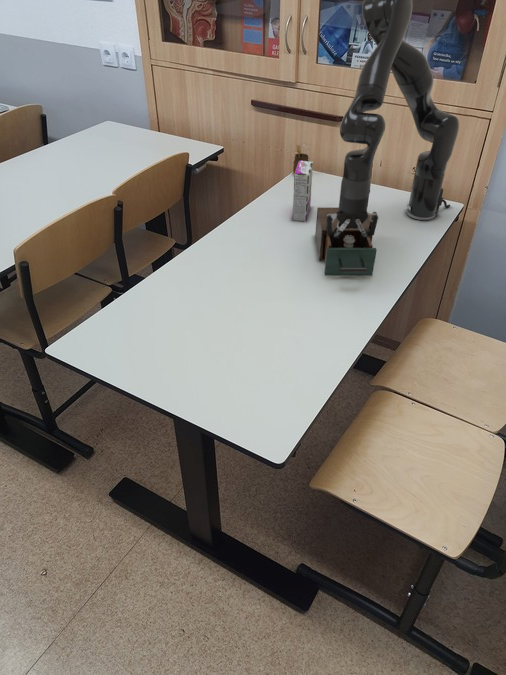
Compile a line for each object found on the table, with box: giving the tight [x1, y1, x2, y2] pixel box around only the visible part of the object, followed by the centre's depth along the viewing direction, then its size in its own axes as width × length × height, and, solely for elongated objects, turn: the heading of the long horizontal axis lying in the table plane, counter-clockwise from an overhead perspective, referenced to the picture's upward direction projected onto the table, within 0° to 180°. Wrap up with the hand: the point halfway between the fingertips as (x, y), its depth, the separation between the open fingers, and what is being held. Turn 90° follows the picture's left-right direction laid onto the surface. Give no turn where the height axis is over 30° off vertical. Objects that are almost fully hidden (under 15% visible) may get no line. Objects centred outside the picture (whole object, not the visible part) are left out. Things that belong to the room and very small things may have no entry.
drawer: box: [323, 233, 377, 277], centre depth 150 cm, size 19×13×8 cm
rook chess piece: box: [343, 235, 355, 248], centre depth 151 cm, size 4×4×8 cm
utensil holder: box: [292, 144, 309, 174], centre depth 205 cm, size 6×6×12 cm
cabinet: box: [314, 207, 373, 262], centre depth 160 cm, size 15×15×10 cm
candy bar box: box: [292, 160, 314, 222], centre depth 176 cm, size 11×5×16 cm, turn 168°
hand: (348, 247), depth 151 cm, fingers open, 6 cm apart
